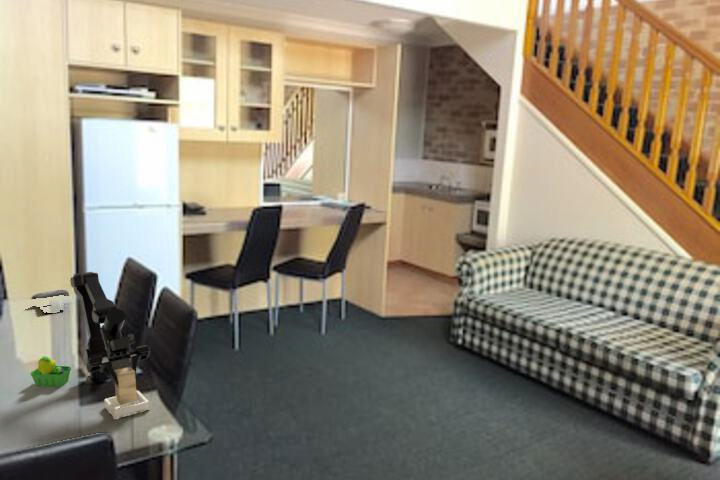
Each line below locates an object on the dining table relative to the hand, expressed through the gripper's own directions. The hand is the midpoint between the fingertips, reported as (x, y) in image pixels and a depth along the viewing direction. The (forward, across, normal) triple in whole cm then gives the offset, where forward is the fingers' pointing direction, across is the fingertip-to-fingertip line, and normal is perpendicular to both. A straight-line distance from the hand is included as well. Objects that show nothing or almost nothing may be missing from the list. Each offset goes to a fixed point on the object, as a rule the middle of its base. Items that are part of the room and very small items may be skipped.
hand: (126, 382), depth 185 cm
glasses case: (-96, +6, +111) cm, 146 cm away
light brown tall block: (+4, 0, +6) cm, 7 cm away
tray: (+6, 0, +8) cm, 10 cm away
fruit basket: (-19, -15, +34) cm, 42 cm away
